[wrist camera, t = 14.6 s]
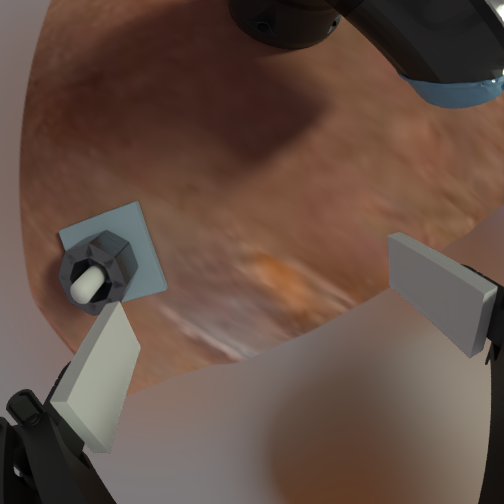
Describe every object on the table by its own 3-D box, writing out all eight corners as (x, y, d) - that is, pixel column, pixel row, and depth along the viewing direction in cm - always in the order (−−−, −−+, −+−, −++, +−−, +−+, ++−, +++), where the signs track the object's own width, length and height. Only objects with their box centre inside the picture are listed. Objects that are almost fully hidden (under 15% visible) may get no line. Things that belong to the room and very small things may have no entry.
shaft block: (63, 228, 34) (18, 254, 24) (138, 200, 35) (108, 217, 24) (94, 305, 38) (64, 350, 27) (167, 285, 39) (153, 331, 28)
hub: (71, 242, 33) (50, 257, 27) (123, 223, 33) (107, 236, 27) (94, 297, 35) (78, 319, 30) (145, 283, 36) (134, 305, 30)
